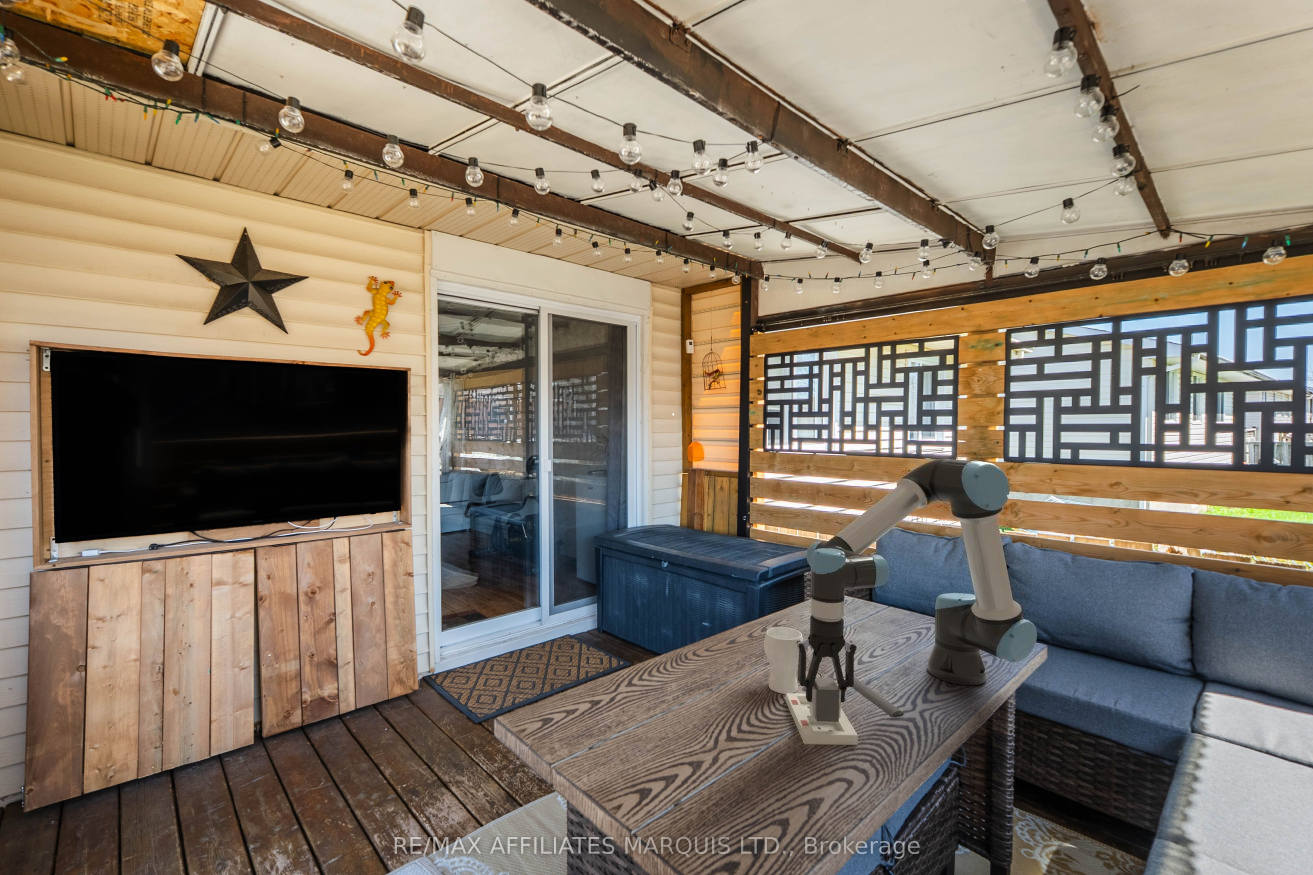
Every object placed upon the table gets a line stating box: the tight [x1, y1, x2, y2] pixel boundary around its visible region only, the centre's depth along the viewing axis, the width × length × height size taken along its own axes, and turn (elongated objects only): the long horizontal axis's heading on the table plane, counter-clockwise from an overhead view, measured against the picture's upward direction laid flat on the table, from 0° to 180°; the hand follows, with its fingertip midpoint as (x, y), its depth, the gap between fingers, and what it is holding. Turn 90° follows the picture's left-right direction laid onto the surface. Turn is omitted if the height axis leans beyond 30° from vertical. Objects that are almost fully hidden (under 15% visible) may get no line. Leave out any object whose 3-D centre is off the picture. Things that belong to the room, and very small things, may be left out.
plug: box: [814, 677, 839, 722], centre depth 137 cm, size 5×5×8 cm
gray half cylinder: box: [852, 676, 905, 717], centre depth 155 cm, size 4×20×2 cm, turn 15°
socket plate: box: [785, 692, 859, 746], centre depth 143 cm, size 12×20×2 cm, turn 179°
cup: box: [763, 626, 804, 695], centre depth 160 cm, size 11×11×15 cm
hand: (824, 714), depth 138 cm, fingers closed on plug, 5 cm apart
